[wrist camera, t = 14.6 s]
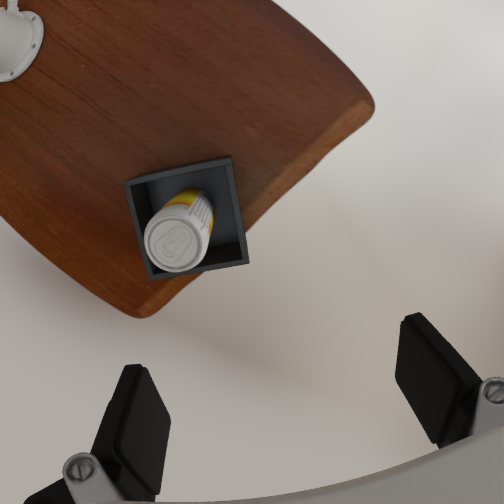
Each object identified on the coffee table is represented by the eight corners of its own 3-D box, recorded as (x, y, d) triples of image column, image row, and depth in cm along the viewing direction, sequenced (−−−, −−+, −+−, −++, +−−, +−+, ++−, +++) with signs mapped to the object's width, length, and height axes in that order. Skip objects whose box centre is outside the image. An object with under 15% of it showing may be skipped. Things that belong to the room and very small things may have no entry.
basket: (141, 173, 41) (122, 181, 34) (230, 154, 41) (230, 157, 33) (161, 258, 45) (149, 281, 38) (246, 243, 45) (249, 263, 38)
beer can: (161, 210, 42) (128, 246, 28) (191, 177, 41) (170, 197, 27) (194, 240, 44) (177, 288, 29) (225, 208, 42) (221, 243, 28)
